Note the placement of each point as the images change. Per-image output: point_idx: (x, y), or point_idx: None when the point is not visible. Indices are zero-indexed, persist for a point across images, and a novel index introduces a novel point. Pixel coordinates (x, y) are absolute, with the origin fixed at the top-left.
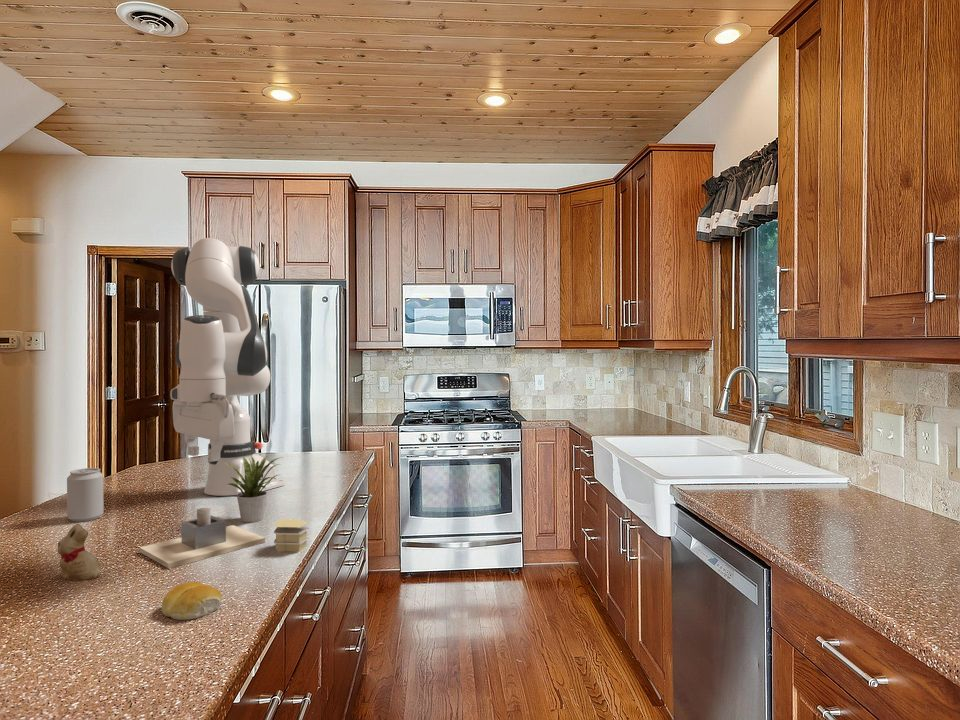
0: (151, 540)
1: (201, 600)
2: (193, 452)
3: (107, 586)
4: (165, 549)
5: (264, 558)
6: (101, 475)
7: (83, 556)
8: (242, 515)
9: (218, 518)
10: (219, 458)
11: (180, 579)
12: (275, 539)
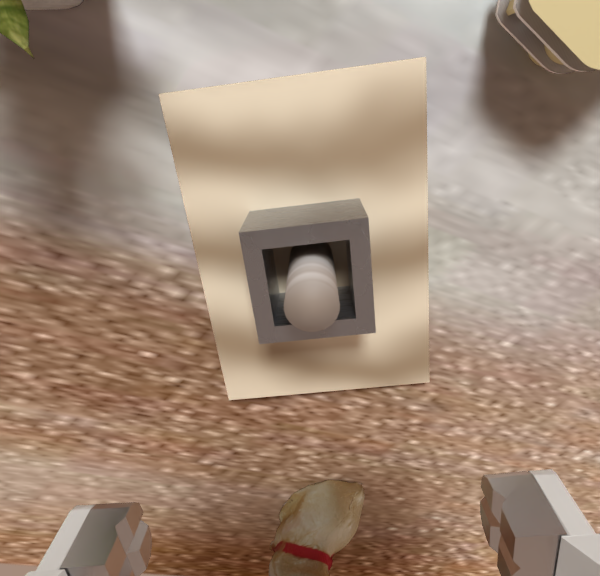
0: (133, 344)
1: None
2: (139, 553)
3: (432, 482)
4: (300, 358)
5: (580, 140)
6: None
7: (341, 547)
8: (58, 7)
9: (306, 226)
10: (555, 479)
11: (526, 374)
12: (534, 53)
